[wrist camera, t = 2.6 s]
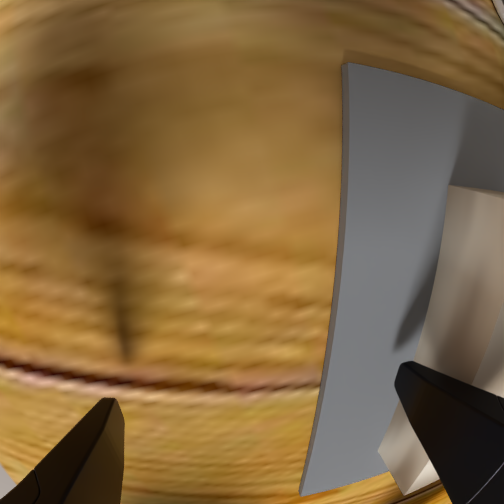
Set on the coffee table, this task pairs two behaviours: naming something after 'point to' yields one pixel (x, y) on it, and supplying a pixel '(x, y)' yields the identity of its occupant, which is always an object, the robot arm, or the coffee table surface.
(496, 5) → the supplement bottle
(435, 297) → the t block
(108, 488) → the robot arm
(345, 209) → the mat
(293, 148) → the coffee table surface
